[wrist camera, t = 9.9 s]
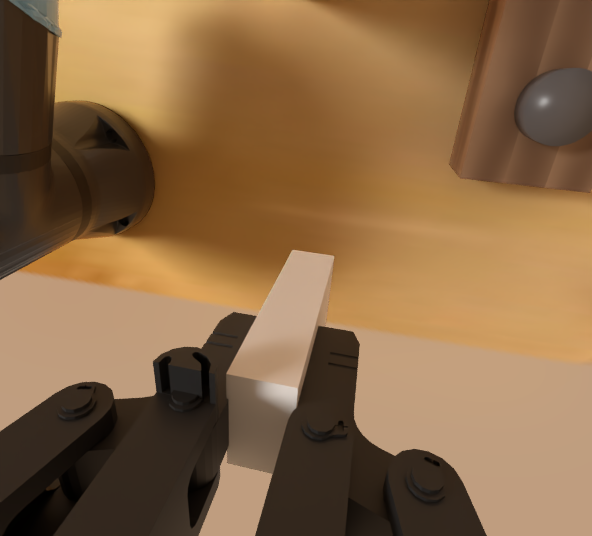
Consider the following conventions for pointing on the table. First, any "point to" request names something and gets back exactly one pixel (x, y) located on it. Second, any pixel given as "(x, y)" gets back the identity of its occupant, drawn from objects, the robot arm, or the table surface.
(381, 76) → the table surface
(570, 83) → the knob
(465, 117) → the mount
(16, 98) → the robot arm
